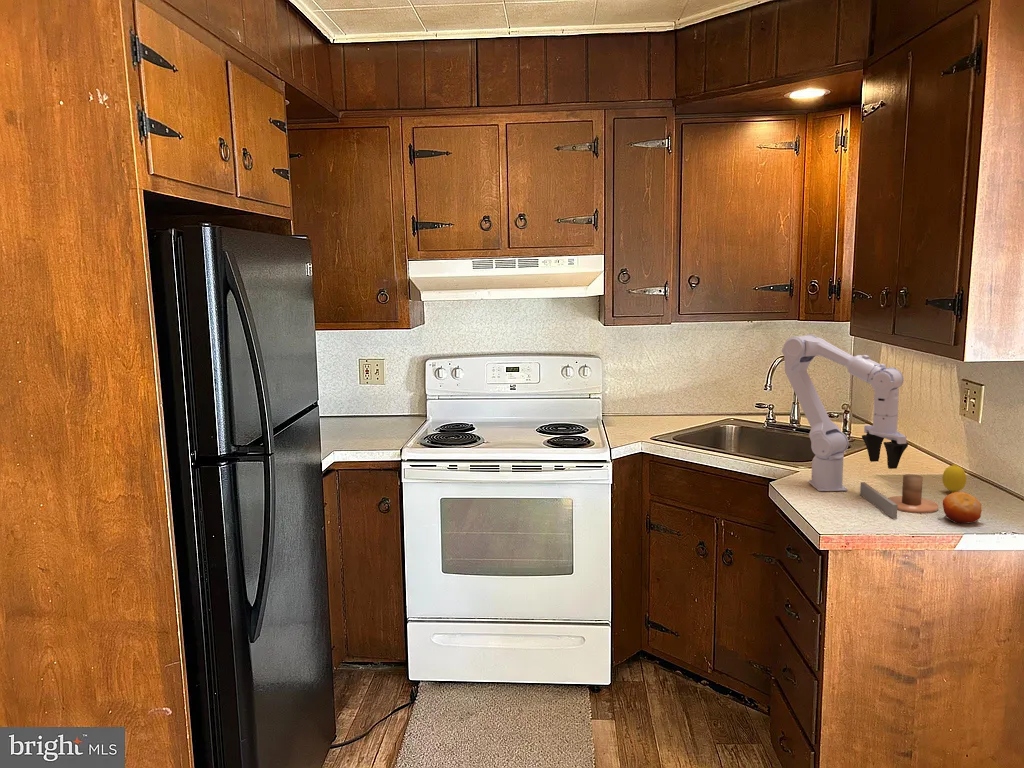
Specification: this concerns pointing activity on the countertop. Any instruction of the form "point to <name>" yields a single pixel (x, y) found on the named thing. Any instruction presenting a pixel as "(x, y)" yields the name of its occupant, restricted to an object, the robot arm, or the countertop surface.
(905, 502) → the walnut cylinder
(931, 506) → the saucer
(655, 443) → the countertop surface
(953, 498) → the fruit
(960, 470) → the lemon
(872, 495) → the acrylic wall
